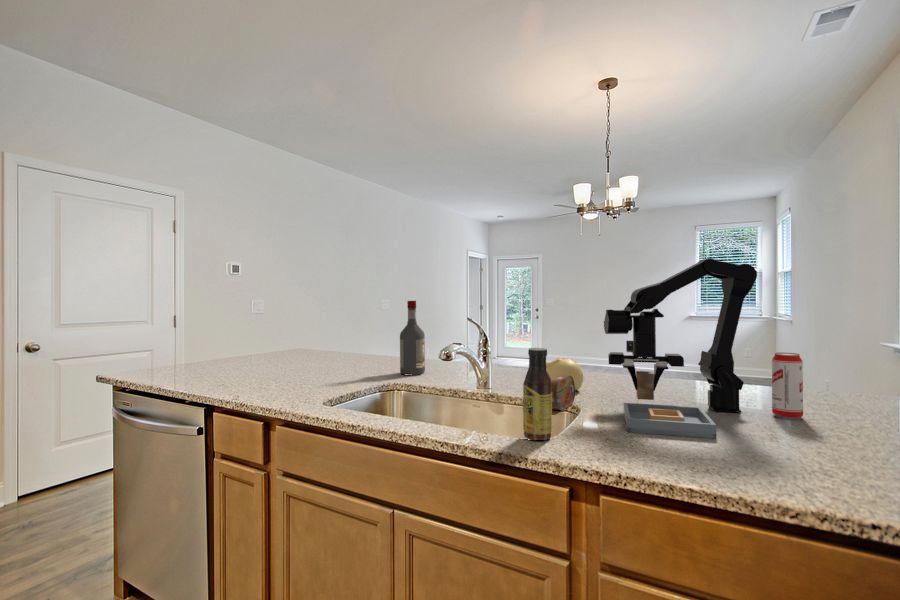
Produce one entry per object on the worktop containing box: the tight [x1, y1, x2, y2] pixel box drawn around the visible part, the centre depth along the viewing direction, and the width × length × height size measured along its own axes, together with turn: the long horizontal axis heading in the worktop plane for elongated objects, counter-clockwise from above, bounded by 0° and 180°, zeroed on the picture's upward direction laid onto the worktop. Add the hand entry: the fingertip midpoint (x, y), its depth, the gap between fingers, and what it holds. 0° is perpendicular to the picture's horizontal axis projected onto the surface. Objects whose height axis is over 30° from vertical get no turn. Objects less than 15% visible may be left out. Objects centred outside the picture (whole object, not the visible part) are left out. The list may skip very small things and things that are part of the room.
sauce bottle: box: [522, 347, 553, 441], centre depth 99 cm, size 7×6×20 cm
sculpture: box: [546, 357, 584, 391], centre depth 149 cm, size 12×12×11 cm
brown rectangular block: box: [635, 370, 655, 401], centre depth 123 cm, size 4×4×7 cm
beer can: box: [771, 351, 804, 421], centre depth 113 cm, size 6×6×16 cm
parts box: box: [623, 402, 718, 440], centre depth 107 cm, size 18×16×3 cm
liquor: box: [399, 300, 426, 376], centre depth 184 cm, size 9×9×30 cm
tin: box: [551, 375, 576, 411], centre depth 127 cm, size 15×3×8 cm, turn 146°
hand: (644, 390), depth 123 cm, fingers closed on brown rectangular block, 4 cm apart
